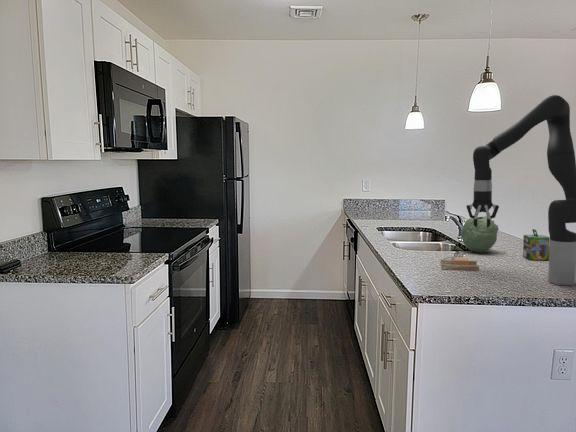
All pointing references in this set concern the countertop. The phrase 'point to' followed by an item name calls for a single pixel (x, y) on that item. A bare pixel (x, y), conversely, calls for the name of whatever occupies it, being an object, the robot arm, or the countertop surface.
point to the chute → (450, 265)
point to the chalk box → (536, 247)
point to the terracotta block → (461, 261)
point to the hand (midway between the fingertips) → (481, 226)
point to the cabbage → (479, 234)
